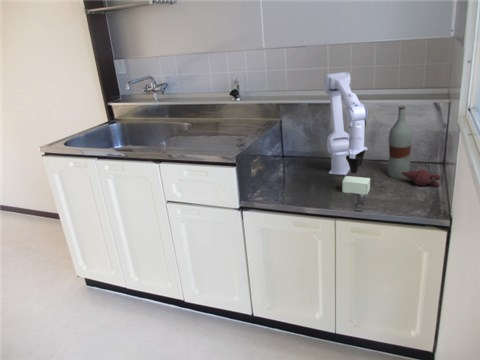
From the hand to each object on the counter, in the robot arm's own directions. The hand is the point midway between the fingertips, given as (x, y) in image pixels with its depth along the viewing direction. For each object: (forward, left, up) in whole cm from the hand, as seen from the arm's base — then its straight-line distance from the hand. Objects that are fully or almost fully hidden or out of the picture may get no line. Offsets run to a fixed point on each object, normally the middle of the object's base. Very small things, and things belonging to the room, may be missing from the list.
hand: (356, 169), depth 159 cm
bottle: (-20, +14, -10) cm, 26 cm away
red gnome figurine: (-12, +23, -10) cm, 27 cm away
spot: (0, 0, -9) cm, 9 cm away
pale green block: (0, 0, -9) cm, 9 cm away
